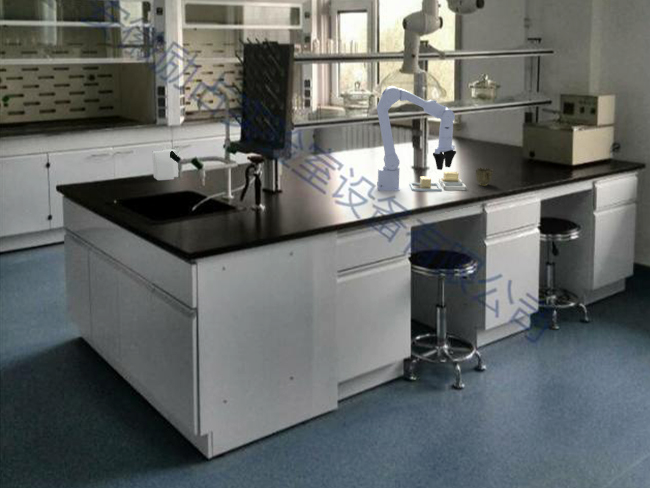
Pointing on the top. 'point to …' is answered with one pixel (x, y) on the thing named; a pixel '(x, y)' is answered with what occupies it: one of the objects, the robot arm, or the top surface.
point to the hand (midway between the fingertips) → (443, 168)
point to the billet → (425, 182)
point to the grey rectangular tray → (452, 185)
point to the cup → (484, 175)
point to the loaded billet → (450, 177)
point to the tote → (425, 189)
